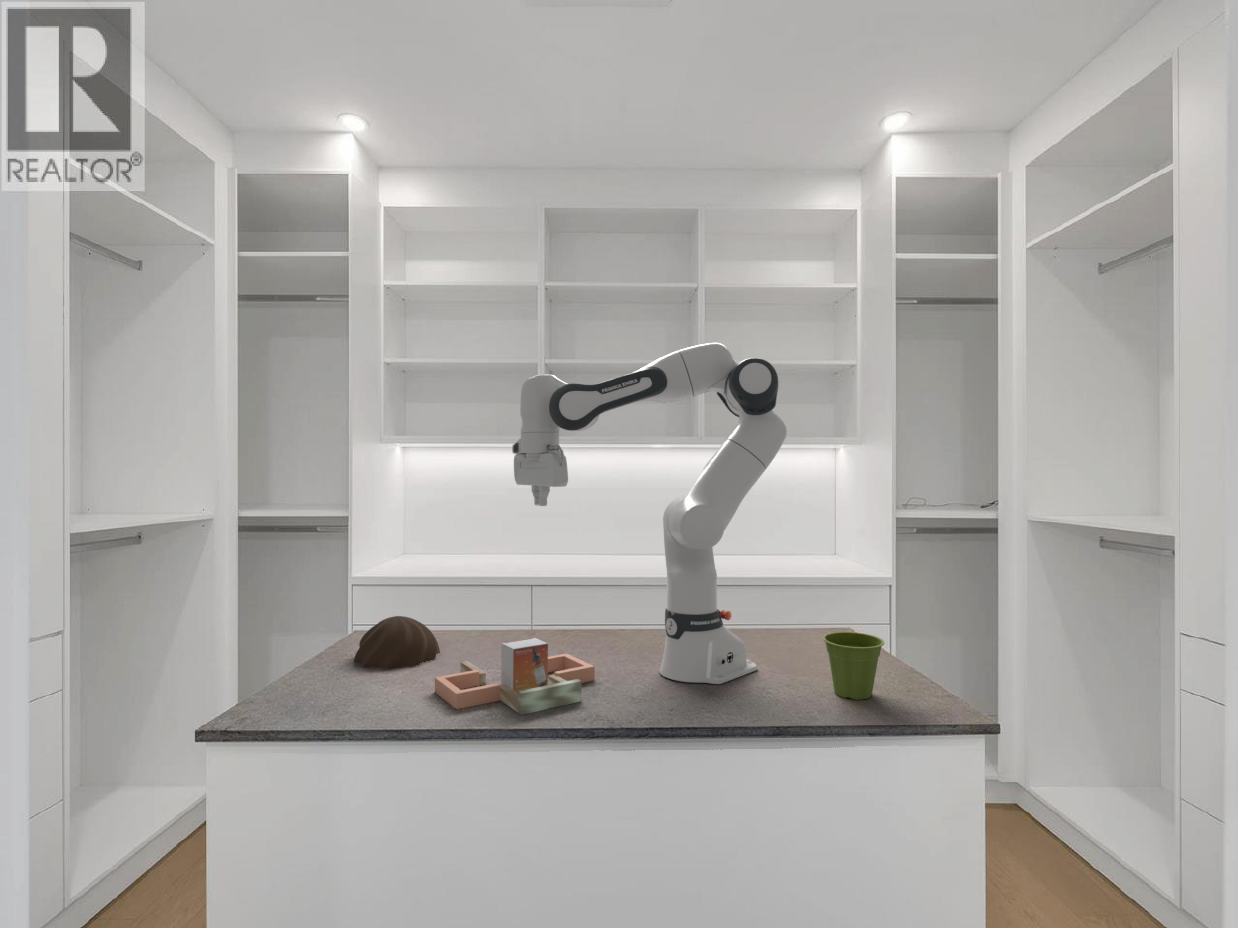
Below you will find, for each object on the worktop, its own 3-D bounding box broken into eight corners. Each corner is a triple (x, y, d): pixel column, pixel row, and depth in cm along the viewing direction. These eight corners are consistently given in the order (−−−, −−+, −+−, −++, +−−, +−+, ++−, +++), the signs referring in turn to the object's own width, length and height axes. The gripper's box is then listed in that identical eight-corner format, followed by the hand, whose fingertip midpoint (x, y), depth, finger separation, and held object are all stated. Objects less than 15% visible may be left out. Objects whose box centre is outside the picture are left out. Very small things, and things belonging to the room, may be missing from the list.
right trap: (566, 666, 161) (566, 653, 160) (594, 680, 151) (594, 666, 151) (531, 673, 155) (531, 659, 155) (557, 687, 146) (557, 673, 146)
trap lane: (513, 663, 163) (513, 646, 163) (581, 701, 138) (581, 680, 138) (460, 673, 156) (460, 655, 156) (521, 714, 130) (521, 693, 130)
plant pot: (810, 692, 143) (810, 637, 143) (845, 681, 150) (845, 628, 150) (861, 709, 133) (862, 650, 133) (896, 696, 141) (896, 640, 140)
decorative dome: (337, 660, 166) (336, 618, 166) (406, 642, 182) (406, 604, 182) (387, 675, 155) (387, 630, 155) (456, 654, 171) (456, 613, 171)
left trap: (476, 683, 148) (476, 669, 148) (500, 700, 138) (500, 685, 138) (434, 691, 143) (434, 677, 143) (456, 709, 133) (456, 693, 133)
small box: (512, 702, 137) (512, 648, 137) (500, 694, 142) (500, 642, 142) (548, 694, 141) (548, 642, 141) (536, 687, 146) (536, 637, 146)
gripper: (574, 444, 154) (575, 507, 154) (532, 446, 171) (533, 502, 171) (549, 444, 151) (550, 508, 151) (508, 446, 168) (509, 504, 168)
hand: (540, 505), depth 161 cm, fingers closed
